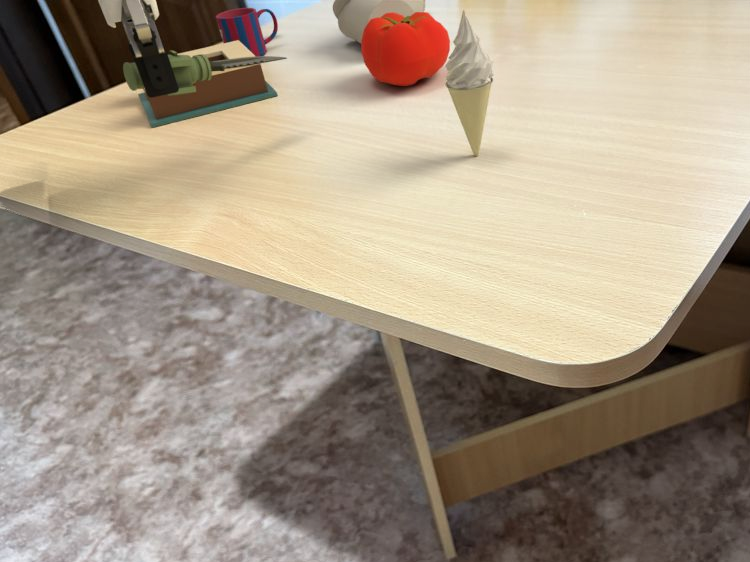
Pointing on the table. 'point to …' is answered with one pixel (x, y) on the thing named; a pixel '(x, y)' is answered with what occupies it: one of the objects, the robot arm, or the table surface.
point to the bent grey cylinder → (370, 13)
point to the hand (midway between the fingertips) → (159, 85)
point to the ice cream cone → (469, 82)
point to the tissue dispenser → (211, 88)
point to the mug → (245, 28)
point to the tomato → (404, 47)
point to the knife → (192, 69)
